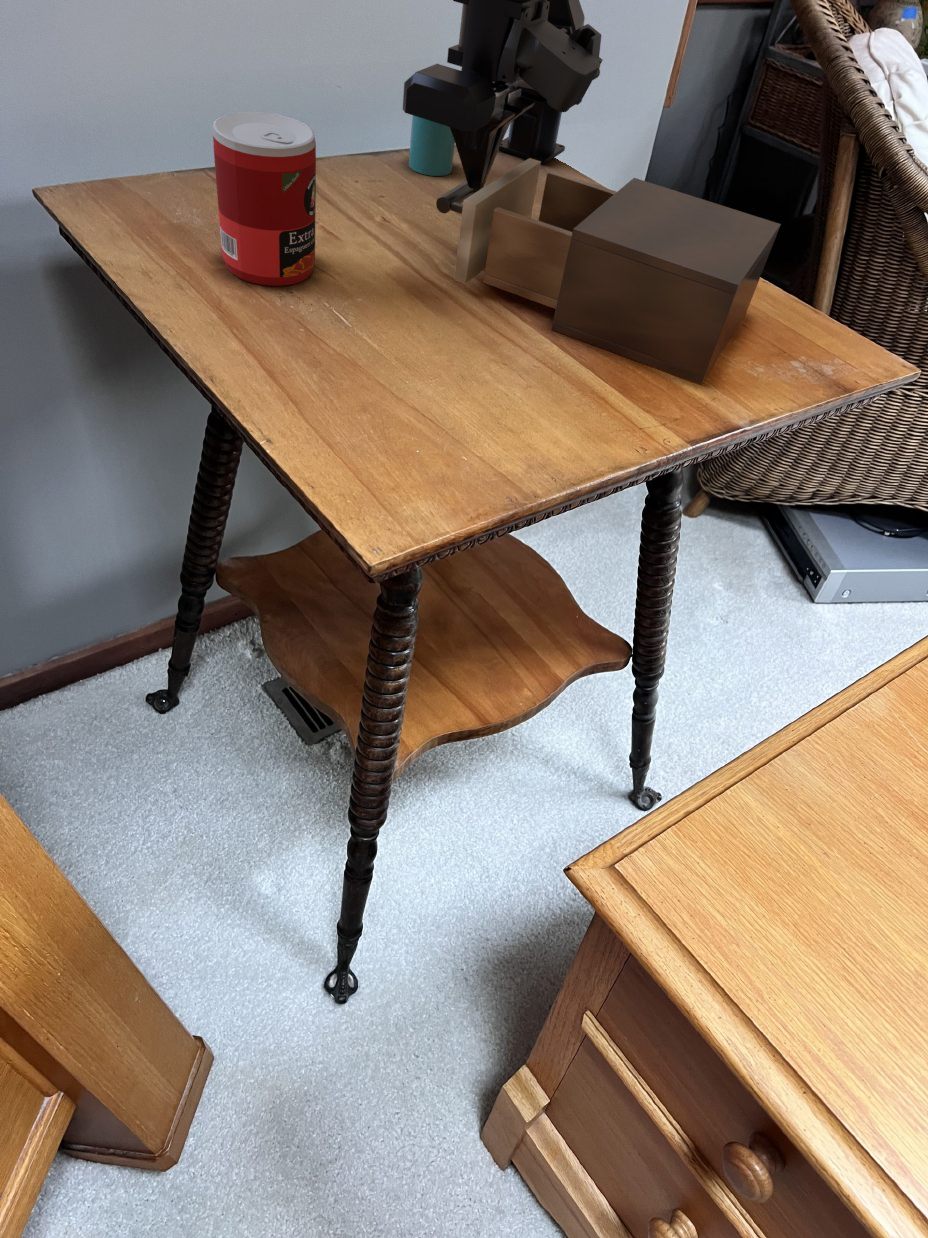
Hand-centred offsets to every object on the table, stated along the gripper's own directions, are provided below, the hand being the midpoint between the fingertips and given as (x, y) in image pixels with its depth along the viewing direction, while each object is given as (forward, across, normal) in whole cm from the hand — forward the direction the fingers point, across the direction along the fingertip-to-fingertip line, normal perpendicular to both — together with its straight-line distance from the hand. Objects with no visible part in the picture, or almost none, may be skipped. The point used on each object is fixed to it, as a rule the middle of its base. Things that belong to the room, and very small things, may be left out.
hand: (475, 187), depth 77 cm
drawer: (+5, 0, -6) cm, 8 cm away
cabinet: (+6, 0, -19) cm, 20 cm away
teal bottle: (+6, +17, +13) cm, 23 cm away
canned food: (+6, -14, +12) cm, 20 cm away
